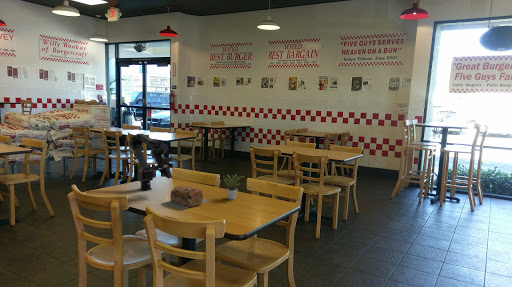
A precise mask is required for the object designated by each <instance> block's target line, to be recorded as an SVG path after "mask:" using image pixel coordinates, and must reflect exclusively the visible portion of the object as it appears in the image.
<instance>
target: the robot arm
mask: <svg viewBox="0 0 512 287" xmlns="http://www.w3.org/2000/svg"><path fill="white" fill-rule="evenodd" d="M143 144H146V147H147V148H148V149H149V150H150V154H149V155H150V156H153V158H154V163H156V165H154V166H153V167H152V166H149V165H148V163H147V161H146V158H145V155H144V152H143V149H142V146H143ZM128 145H129V147H130V149H131V150H133V151H134V153H135V156H136V159H137V163H138V165H139V167H140V171H139V176H138V177H137V181H138V182H140V187H139V188H138V190H141V191H143V192H144V191H150V190H152V189H153V188H152V187H151V181H154V176H155V174H154V172H157V171H158V170H159V173H161V174H162V175H163V176H165V177H166V179H171V174H170V169H172V168H173V167H174V166H175V165H174V162H175V157H174V156H173V155H171V156H170V155H169V157H166V156H164V154H165V153H166V152H167V151H168V150H169V146H168V144H166V143H164V141H160V140H159V139H156V138H151V137H149V136H147V135H145V134H144V133H136V134H135V135H134V136H132V137H130V139H129V140H128Z"/></svg>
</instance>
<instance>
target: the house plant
mask: <svg viewBox="0 0 512 287" xmlns="http://www.w3.org/2000/svg"><path fill="white" fill-rule="evenodd" d="M233 175H234V174H231V176H232V177H231V176H230V175H228V178H227V177H226V176H222V177H224V178H225V179H224V178H223V179H222V180H223V181H224V184H225V185H227V186H226V193H227V199H228V200H236V199H237V195H238V188H237V187H241V185H240V184H241V183H240V182H239V180H240V179H241V178H243V177H244V178H245V175H243V176H239V175H238V174H237V173H236V174H235V175H234V176H233ZM237 175H238V176H237ZM238 182H239V183H238Z"/></svg>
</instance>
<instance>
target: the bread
mask: <svg viewBox="0 0 512 287" xmlns="http://www.w3.org/2000/svg"><path fill="white" fill-rule="evenodd" d="M203 196H204V193H203V190H201V189H199V188H197V187H191V186H186V185H180V186H178V185H177V186H175V187H174V188H173V189H172V190H171V191H170V201H172V202H175V203H178V204H181V205H185V206H190V207H189V208H191V207H196V206H199V205H202V204H203V203H202V200H203V199H204V198H203Z"/></svg>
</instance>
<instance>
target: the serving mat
mask: <svg viewBox="0 0 512 287" xmlns="http://www.w3.org/2000/svg"><path fill="white" fill-rule="evenodd" d="M209 201H210V199H205V198H203V200H202V204H204V203H207V202H209ZM161 205H164V206H167V207H170V208H174V209H178V210H181V211H183V210H186V209H188V208H191V207H190V206H185V205H181V204H178V203H175V202H172V201H171V200H169V201H166V202H161Z"/></svg>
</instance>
